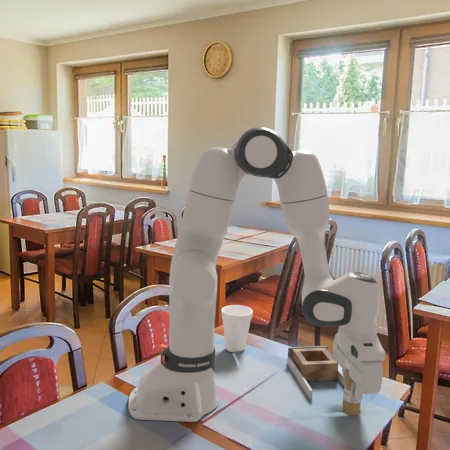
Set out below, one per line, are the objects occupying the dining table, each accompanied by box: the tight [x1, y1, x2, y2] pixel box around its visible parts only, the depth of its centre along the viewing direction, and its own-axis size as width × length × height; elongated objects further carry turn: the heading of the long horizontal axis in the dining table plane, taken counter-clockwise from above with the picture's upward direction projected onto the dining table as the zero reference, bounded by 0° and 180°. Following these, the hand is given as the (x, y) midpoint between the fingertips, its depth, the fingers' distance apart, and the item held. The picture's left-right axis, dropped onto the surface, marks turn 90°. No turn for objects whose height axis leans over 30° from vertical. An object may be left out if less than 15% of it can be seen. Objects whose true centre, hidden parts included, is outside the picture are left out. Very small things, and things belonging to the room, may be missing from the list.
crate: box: [292, 348, 339, 383], centre depth 137 cm, size 10×10×5 cm
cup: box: [220, 304, 254, 353], centre depth 152 cm, size 10×10×13 cm
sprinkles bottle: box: [342, 359, 362, 416], centre depth 118 cm, size 5×5×14 cm
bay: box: [286, 345, 344, 401], centre depth 133 cm, size 12×20×6 cm, turn 9°
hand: (352, 392), depth 119 cm, fingers closed on sprinkles bottle, 4 cm apart
